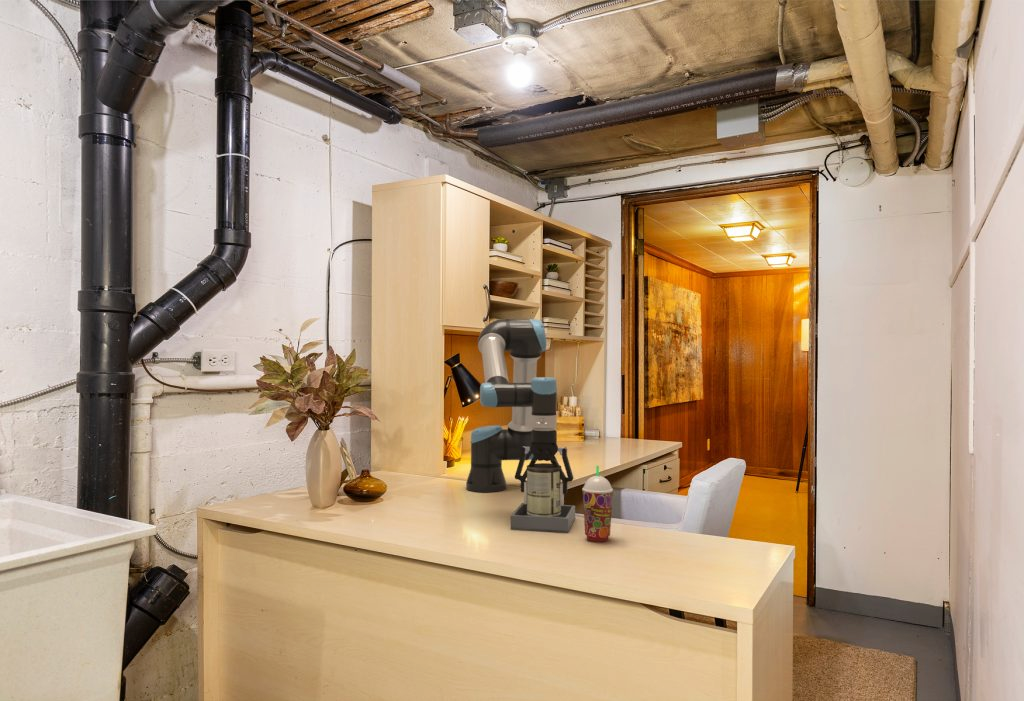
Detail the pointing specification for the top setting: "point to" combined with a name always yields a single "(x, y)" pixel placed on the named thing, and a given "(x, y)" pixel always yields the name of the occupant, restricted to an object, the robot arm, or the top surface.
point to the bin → (543, 520)
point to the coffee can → (543, 490)
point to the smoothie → (597, 507)
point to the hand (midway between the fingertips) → (543, 504)
